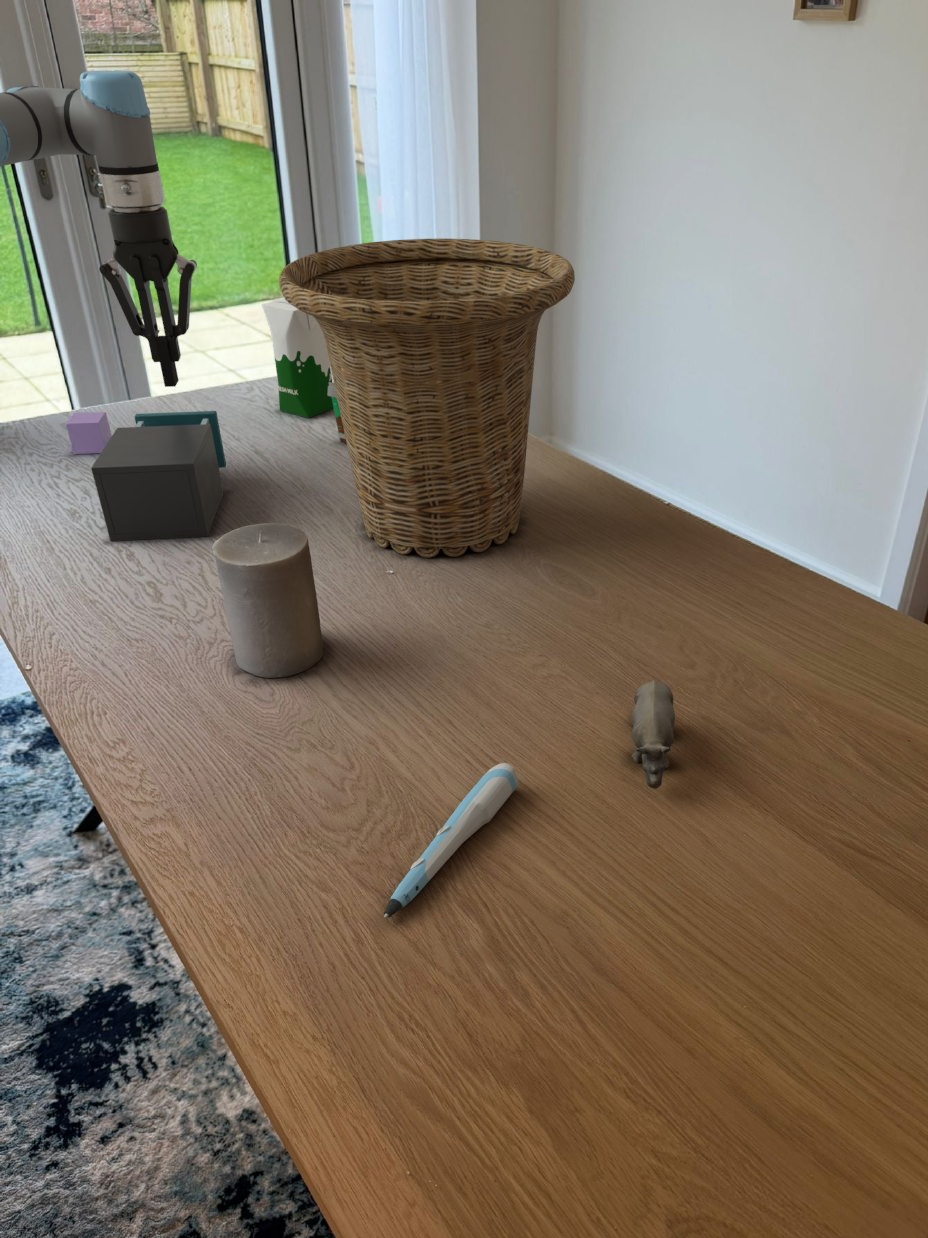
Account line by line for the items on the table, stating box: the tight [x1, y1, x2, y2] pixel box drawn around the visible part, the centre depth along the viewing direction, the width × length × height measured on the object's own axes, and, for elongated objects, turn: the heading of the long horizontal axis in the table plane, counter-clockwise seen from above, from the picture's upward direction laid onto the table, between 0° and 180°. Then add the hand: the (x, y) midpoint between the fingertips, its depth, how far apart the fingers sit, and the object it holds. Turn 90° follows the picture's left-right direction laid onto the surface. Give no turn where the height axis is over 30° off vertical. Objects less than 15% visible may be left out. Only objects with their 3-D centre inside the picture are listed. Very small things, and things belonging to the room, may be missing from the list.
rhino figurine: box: [630, 679, 676, 790], centre depth 95 cm, size 4×14×6 cm, turn 174°
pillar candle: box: [212, 522, 325, 679], centre depth 109 cm, size 10×10×15 cm
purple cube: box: [65, 411, 113, 455], centre depth 163 cm, size 5×5×5 cm
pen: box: [383, 762, 519, 919], centre depth 86 cm, size 19×3×3 cm, turn 152°
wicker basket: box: [278, 238, 576, 559], centre depth 131 cm, size 35×35×33 cm
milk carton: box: [261, 297, 334, 419], centre depth 174 cm, size 9×9×20 cm
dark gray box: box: [90, 424, 224, 542], centre depth 140 cm, size 15×13×10 cm
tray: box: [134, 410, 227, 469], centre depth 150 cm, size 19×12×8 cm, turn 6°
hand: (171, 383), depth 150 cm, fingers closed
